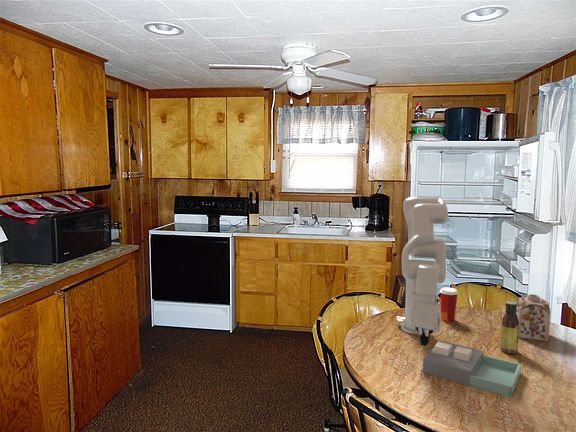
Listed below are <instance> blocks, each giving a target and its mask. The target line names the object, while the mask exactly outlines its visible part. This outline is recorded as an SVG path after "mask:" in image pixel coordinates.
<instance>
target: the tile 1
mask: <svg viewBox="0 0 576 432" xmlns="http://www.w3.org/2000/svg"><path fill="white" fill-rule="evenodd" d="M433 348H434V353H437V354H441V355H445V356H448V355H449V354H450V353H451V352H452V345H450V344H446V343H442V342H439V341H437V342H436V343H435V345H434V346H433Z"/></svg>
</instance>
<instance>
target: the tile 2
mask: <svg viewBox="0 0 576 432" xmlns="http://www.w3.org/2000/svg"><path fill="white" fill-rule="evenodd" d="M471 357H472V350H471V349H467V348H463V347H458V346H457V348H456V349H455V350H454V358H457V359H461V360H465V361H469V360H470V358H471Z"/></svg>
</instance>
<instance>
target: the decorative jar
mask: <svg viewBox="0 0 576 432" xmlns="http://www.w3.org/2000/svg"><path fill="white" fill-rule="evenodd" d="M515 303H517V308H516V314H517V318H518V321H519V339H525V340H532V341H538V342H540V341H541V342H546V343H547V342H549V338H550V323H551V307H550V304H549V301H547V299H546V300H545V299H544V298H541V297H540V295H537V294H533V293H532V294H530V293H529V294H527V295H526V296H521V297H518V298H517V300H516V301H515Z"/></svg>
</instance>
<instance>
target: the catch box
mask: <svg viewBox="0 0 576 432" xmlns="http://www.w3.org/2000/svg"><path fill="white" fill-rule="evenodd" d="M521 371H522V363H520V362H519V363H518V362H514V361H510V360H506V359H502V358H498V357H495V356H490V355H486V354H483V363H482V365H481V366H480V368H479V370H478V371H477V373H476V375H475V376H473V375H471V376H470V386H469V387H474V388H477V389H480V390H483V391H488V392H490V393H493V394H494V393H495V394H498V395H501V396H505V397H509V398H512V396H513V394H514V391H515V390H516V387H517V384H518V380H519V378H520V376H521V373H522V372H521Z"/></svg>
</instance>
